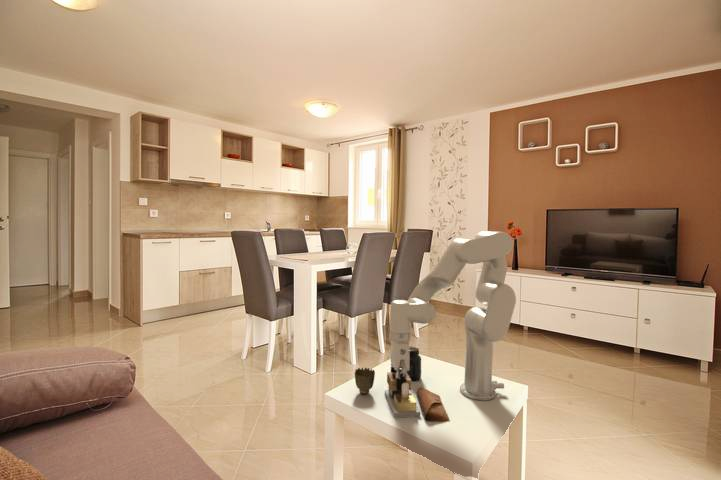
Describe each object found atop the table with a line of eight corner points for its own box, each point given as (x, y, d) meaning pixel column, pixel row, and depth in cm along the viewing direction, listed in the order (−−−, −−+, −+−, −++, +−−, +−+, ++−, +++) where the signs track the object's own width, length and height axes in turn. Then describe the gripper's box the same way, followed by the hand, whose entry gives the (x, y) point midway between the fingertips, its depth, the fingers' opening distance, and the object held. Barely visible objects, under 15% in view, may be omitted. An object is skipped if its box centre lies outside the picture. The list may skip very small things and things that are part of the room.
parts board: (407, 393, 130) (407, 389, 130) (420, 416, 115) (420, 412, 115) (384, 394, 129) (384, 390, 129) (394, 417, 114) (394, 413, 113)
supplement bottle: (408, 373, 148) (409, 344, 148) (423, 377, 144) (424, 348, 144) (400, 378, 143) (401, 349, 142) (415, 383, 139) (416, 353, 138)
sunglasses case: (452, 421, 112) (441, 403, 112) (432, 432, 112) (422, 414, 112) (439, 394, 130) (430, 379, 130) (422, 404, 130) (413, 388, 130)
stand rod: (404, 390, 130) (405, 367, 129) (408, 398, 124) (409, 374, 123) (388, 390, 129) (389, 368, 129) (391, 398, 123) (392, 375, 123)
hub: (411, 402, 121) (411, 378, 120) (416, 411, 115) (416, 386, 115) (393, 402, 120) (394, 379, 120) (398, 412, 114) (398, 387, 114)
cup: (372, 399, 126) (373, 376, 125) (352, 396, 127) (352, 374, 127) (375, 389, 133) (376, 368, 133) (356, 387, 134) (357, 366, 134)
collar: (405, 381, 130) (406, 371, 130) (410, 390, 123) (411, 380, 123) (387, 381, 129) (387, 372, 129) (391, 390, 122) (391, 380, 122)
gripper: (417, 343, 117) (414, 394, 118) (404, 328, 135) (402, 373, 135) (394, 344, 116) (392, 395, 117) (384, 328, 134) (382, 373, 134)
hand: (397, 383), depth 126 cm, fingers open, 9 cm apart
